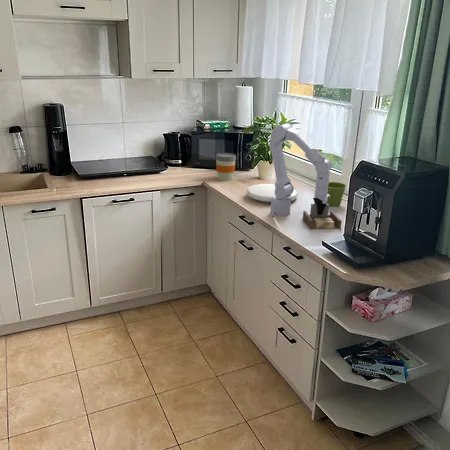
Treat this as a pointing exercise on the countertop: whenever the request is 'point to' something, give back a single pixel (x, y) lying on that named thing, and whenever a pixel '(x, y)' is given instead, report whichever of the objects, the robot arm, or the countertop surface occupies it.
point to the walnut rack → (333, 216)
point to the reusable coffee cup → (225, 165)
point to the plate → (265, 192)
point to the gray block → (314, 211)
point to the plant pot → (335, 193)
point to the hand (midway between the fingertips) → (319, 213)
